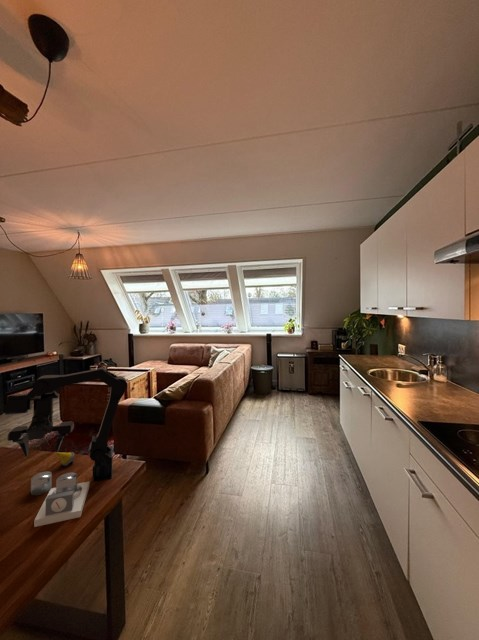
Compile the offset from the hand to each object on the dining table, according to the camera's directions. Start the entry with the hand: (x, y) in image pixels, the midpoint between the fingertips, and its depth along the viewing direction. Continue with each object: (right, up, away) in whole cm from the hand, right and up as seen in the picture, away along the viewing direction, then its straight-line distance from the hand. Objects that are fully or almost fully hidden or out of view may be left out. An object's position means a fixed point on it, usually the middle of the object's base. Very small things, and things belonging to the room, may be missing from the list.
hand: (42, 453), depth 95 cm
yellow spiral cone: (-2, -13, +16) cm, 21 cm away
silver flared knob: (0, -13, 0) cm, 13 cm away
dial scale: (+13, -13, -8) cm, 20 cm away
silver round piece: (+13, -10, -6) cm, 17 cm away
